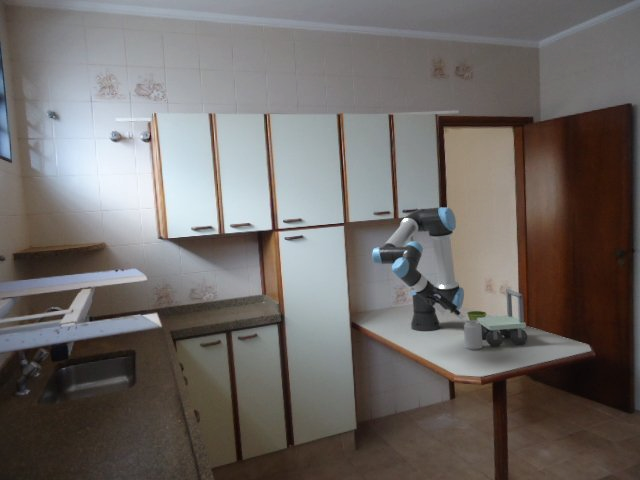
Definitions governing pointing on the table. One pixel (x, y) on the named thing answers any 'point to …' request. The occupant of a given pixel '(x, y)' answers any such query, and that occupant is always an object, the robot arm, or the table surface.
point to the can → (473, 335)
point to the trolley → (505, 324)
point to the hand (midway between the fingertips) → (453, 315)
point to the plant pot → (475, 315)
